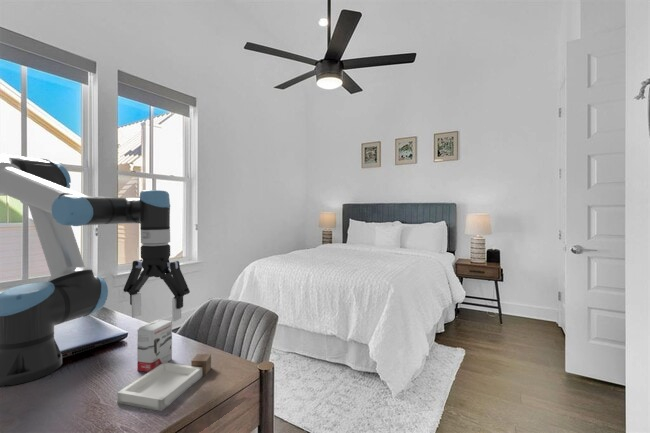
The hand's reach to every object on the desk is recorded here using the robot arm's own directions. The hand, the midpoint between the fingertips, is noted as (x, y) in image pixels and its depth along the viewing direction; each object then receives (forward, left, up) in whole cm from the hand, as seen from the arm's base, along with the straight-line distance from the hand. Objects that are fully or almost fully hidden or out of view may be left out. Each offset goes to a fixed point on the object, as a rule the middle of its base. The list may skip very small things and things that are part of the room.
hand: (156, 318), depth 91 cm
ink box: (0, 0, -14) cm, 14 cm away
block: (+15, 0, -14) cm, 20 cm away
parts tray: (+11, -10, -14) cm, 20 cm away
